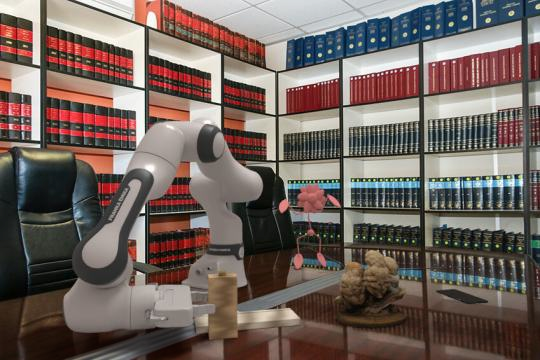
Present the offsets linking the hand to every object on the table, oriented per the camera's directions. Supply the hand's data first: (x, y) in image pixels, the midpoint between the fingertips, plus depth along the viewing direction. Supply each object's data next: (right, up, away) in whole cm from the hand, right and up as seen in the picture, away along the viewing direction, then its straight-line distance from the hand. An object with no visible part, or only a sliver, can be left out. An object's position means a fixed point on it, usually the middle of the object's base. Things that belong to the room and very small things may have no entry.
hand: (213, 301), depth 89 cm
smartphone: (+69, -8, +31) cm, 76 cm away
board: (+7, -8, +8) cm, 13 cm away
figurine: (+30, -10, +76) cm, 82 cm away
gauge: (+1, -7, +4) cm, 8 cm away
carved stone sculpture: (+37, -8, +10) cm, 39 cm away
